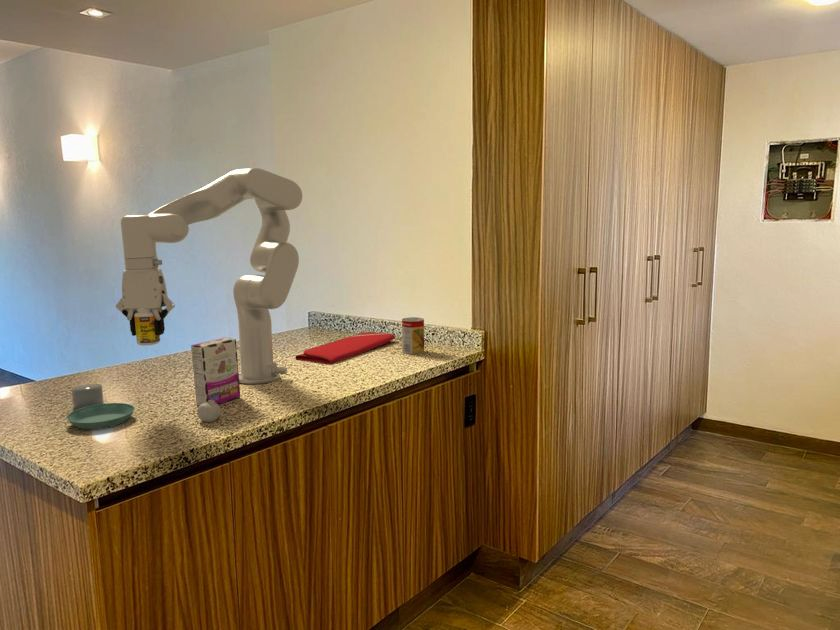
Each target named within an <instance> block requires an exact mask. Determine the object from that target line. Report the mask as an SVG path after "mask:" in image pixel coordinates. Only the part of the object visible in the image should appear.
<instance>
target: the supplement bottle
mask: <svg viewBox="0 0 840 630" xmlns="http://www.w3.org/2000/svg"><path fill="white" fill-rule="evenodd" d="M137 311H138V312H137V313H135V314H134V317H135V328H136V335H135V336H136V337H135V338H136V339H135V340H136V344H137V345H139V346H153V345H157V344H159V343H160V342H161V335H159V336H156V335H155V325H154V321H155V320H156V317H155V315H154V313H153V311H152V309H143V308H140V309H137Z"/></svg>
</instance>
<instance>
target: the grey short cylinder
mask: <svg viewBox="0 0 840 630" xmlns="http://www.w3.org/2000/svg"><path fill="white" fill-rule="evenodd" d="M103 392H104V391H103V385H101V384H97V383H89V384H82V385H77V386H75V387H73V388H71V395H72V396H71V397H72V407H73V409H74V408H75V409H74V410H76V409H80V408H83V407H87V406H92V405H98V404H105V403H104V395H103V394H104V393H103Z"/></svg>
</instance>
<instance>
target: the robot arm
mask: <svg viewBox="0 0 840 630" xmlns="http://www.w3.org/2000/svg"><path fill="white" fill-rule="evenodd" d="M251 199H253V200H254V201H255V202H254V203H255V204H256V205H257V208H258V210H259V212H260V215H261V227H260V229H259V233H258V235H257V238H256V239H255V243H254V246H253V249H252V251H251V253H250V258H249V262H250V266H251V267H252V268H253V270H255V271H256V272H260V273H264V275H263V274H254V273H253V274H245V275H242V276H240V277H238V279H237V280H236V281H235V283H234V286H233V291H232V292H233V293H232V294H233V299H234V304H235V307H236V312H237V318H238V319H237V321H238V338H239V353H240V355H239V356H240V372H241V373H239V384H249V385H250V384H251V385H253V384H254V385H257V384H265V383H271V382H273V381H276V380H278V379H279V378H280V374H281V375H287V373H288V368H287V367H286V366H278V365H277V362H276V361H274V354H273V353H274V352H273V349H274V348H273V330H272V317H271V313H270V311H269V310H275V309H278V308H281V307H282V305H284V303H285V302H286V301H287V298H288V295H289V293H290V291H291V288H292V285H293V282H294V279H295V277H296V273H297V272H298V269H299V263H300V259H299V258H300V257H299V253H298V250H297V248H296V247H295V246H294V245H293V244H291V243H290V242H288V238H289V236H290V233H291V225H290V220H289V217H288V215H287V211H291V210H295V209H297V208H298V207H299V206H300V205H301V203H302V200H303V192H302V189H301V187H300V186H299V184H298V183H297V182H295V181H294V180H291V179H289V178H286V177H284V176H281V175H279V174H275V173H273V172H270V171H268V170H265V169H262V168H258V167H248V168H238V169H233V170H231V171H229V172H228V173H226V174H225V175H223V176H220V177H219V178H217V179H216V180H214V181H212V182H211V183H209V184H207V185H205V186H203V187H202V188H199V189H197V190H195V191H192V192H190V193H188V194H186V195H184V196H182V197H180V198H177V199H175V200H173V201H170V202H168V203H167V204H165V205H163V206H160V207H159V208H157V209H155V210H153V211H152V212H150V213H149V214H145V215H144V214H139V215H138V214H131V215H130V214H129V215H124V216H123V217H121V220H120V227H121V236H122V237H121V238H122V248H123V257H124V259H123V260H124V267H125V270H123V272H122V279H121V299H120V300H119V301H118V302H117V304H116V305H115V307H116V309H117V310H118V311H119V312H121V314H122V315H124V316H125V318H126V320H127V321H129V328H130V333H131V335H132V337H133V336H134V337H135V336H136V328H135V317H134V314H135V313H137V312H138V311H137V309H140V308H143V309H152V311H153V313H154V315H155V317H156V320H155V321H154V325H155V335H156V336H159V335H160V336H161V335H164V333H165V329H166V328H165V319H166V317H167V316H168V314H169V313H170V312H171V311H172V310H173V309H174V308H175V306H176V304H175V303H174V302H173V301H172V300H171V299H170V298H169V297H168V291H167V285H166V279H165V276H164V274H163V271H162V269H161V268H159V266H162V265H163V261H162V259H158V256H157V255H158V253H157V246H156V244H157V243H159V244H160V243H161V244H162V243H164V244H176V243H179V242H182V241H183V240H184V239H186V237H187V236H188V235H189V230H190V227H189V225H192V224H194V223H199V222H204V221H209V220H212V219H216V218H218V217H220V216H221V215H223V214H224V213H226V212H227V211H229V210H230V209H232V208H235V207H236V206H237V205H239V204H240V203H242V202H243V201H246V200H251ZM163 307H165V308H164V309H163Z"/></svg>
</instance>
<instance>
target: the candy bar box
mask: <svg viewBox="0 0 840 630" xmlns="http://www.w3.org/2000/svg"><path fill="white" fill-rule="evenodd" d="M190 346H191V359H192V360H191V361H192V369H193V381H194V391H195V392H194V393H195V403H196V406H197V407H199V406H200V405H201V404H203V403H206V402H208V401H209V400H213V401H215V403H217V404H218V405H219V406H220V405H221V404H224V402H225V403H227V402H230V401H233V400H236V399H238V398H240V397H241V388H240V382H239V374H240V373H239V363H238V362H239V361H238V350H237V349H238V348H237V339H236V338H231V337H221V338H217V339H211V340H208V341H205V342H200V343H196V344H191V345H190Z"/></svg>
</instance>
